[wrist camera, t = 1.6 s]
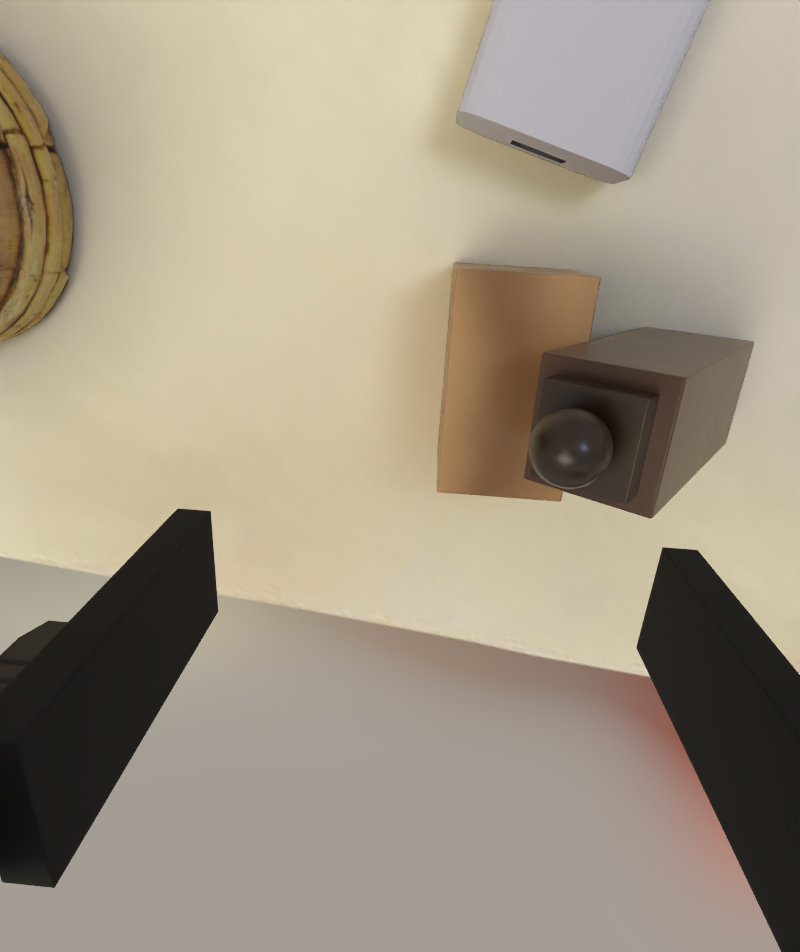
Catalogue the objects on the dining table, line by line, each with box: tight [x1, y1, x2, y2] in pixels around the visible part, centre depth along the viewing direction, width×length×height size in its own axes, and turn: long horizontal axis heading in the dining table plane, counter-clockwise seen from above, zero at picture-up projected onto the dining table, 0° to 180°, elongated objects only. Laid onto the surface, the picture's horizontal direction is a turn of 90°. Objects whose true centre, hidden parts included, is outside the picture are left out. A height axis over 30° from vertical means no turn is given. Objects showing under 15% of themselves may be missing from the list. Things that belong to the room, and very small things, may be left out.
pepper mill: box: [524, 327, 754, 518], centre depth 29 cm, size 14×6×17 cm, turn 87°
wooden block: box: [437, 263, 600, 501], centre depth 34 cm, size 7×12×7 cm, turn 177°
